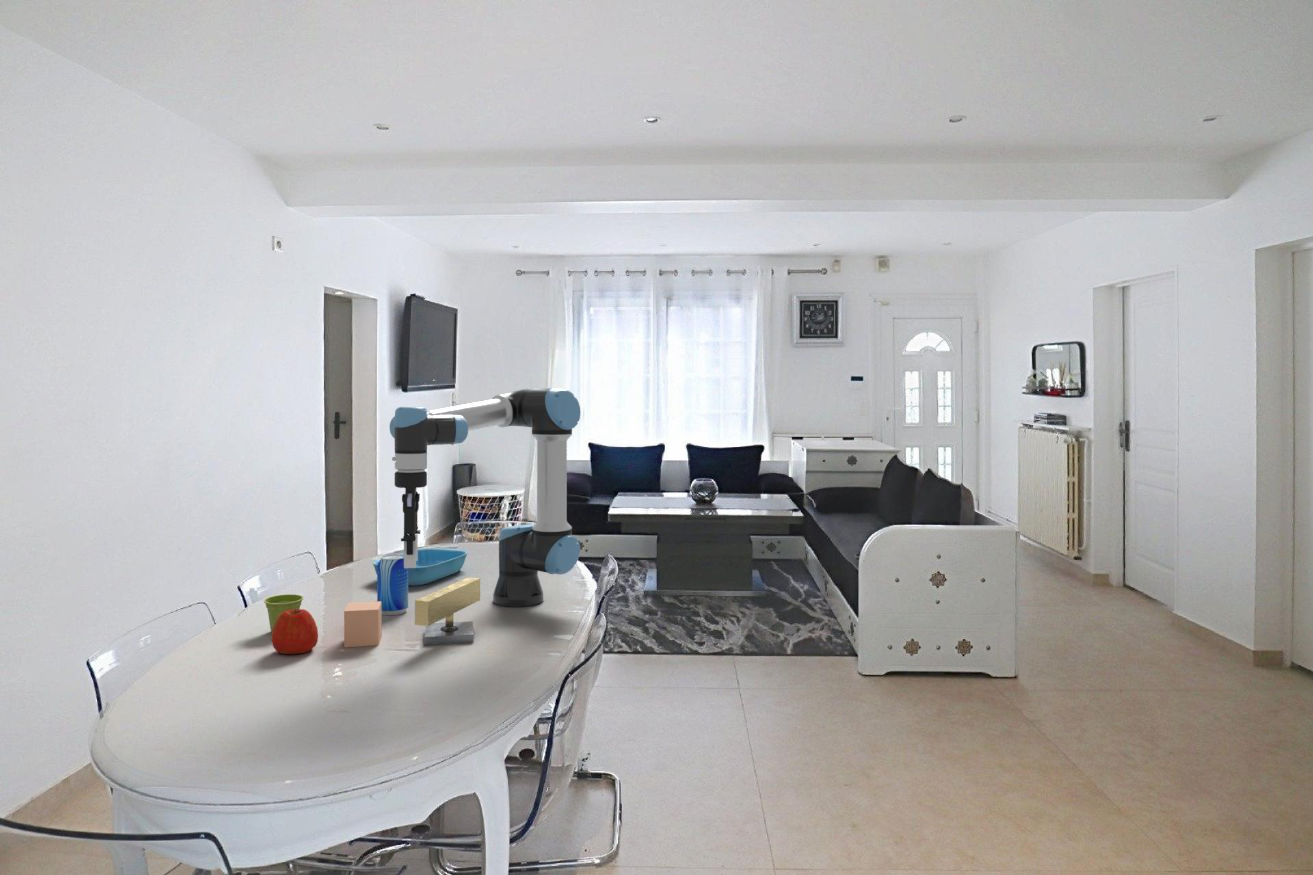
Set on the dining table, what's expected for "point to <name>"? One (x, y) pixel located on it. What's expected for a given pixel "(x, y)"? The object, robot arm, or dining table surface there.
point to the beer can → (392, 584)
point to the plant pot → (281, 606)
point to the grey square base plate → (449, 633)
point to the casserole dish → (434, 565)
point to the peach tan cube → (362, 624)
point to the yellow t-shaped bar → (446, 602)
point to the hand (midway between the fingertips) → (410, 564)
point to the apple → (294, 632)
